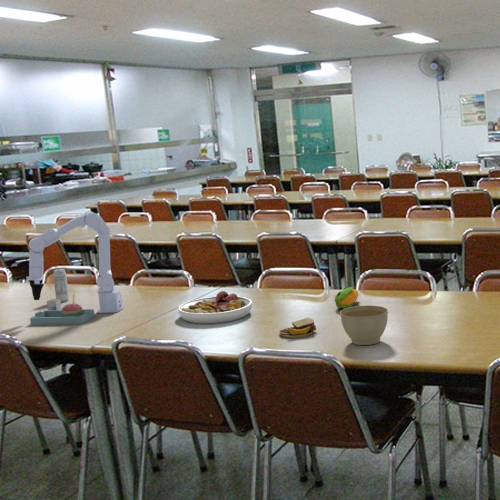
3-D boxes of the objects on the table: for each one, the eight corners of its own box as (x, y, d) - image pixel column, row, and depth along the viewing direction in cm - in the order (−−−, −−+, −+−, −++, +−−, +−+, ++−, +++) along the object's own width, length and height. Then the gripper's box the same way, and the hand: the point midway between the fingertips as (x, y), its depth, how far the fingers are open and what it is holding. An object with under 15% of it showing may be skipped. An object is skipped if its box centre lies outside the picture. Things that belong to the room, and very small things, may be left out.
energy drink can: (70, 299, 373) (67, 268, 370) (66, 302, 367) (63, 271, 364) (58, 300, 373) (55, 269, 371) (54, 302, 367) (50, 271, 365)
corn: (330, 292, 309) (346, 281, 327) (330, 311, 311) (346, 299, 328) (348, 294, 306) (363, 283, 324) (348, 313, 308) (363, 301, 325)
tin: (61, 312, 346) (60, 298, 345) (57, 315, 342) (55, 301, 341) (52, 312, 347) (50, 298, 346) (48, 315, 343) (46, 301, 342)
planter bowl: (384, 333, 274) (382, 303, 272) (394, 346, 258) (392, 314, 256) (338, 337, 273) (336, 307, 272) (345, 350, 257) (343, 318, 256)
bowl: (244, 325, 301) (242, 305, 300) (169, 326, 307) (168, 307, 306) (258, 306, 330) (257, 288, 329) (190, 308, 336) (189, 290, 335)
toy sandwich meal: (277, 331, 288) (276, 319, 287) (313, 328, 289) (312, 315, 288) (282, 340, 275) (281, 327, 275) (319, 337, 277) (318, 324, 276)
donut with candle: (86, 317, 333) (83, 290, 331) (77, 322, 324) (74, 294, 323) (68, 317, 335) (65, 290, 333) (58, 323, 327) (55, 295, 325)
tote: (94, 315, 334) (93, 307, 334) (82, 323, 322) (81, 315, 321) (45, 317, 339) (44, 308, 339) (30, 325, 327) (29, 316, 326)
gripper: (25, 264, 335) (25, 295, 336) (27, 269, 321) (27, 301, 323) (42, 264, 337) (42, 295, 338) (44, 268, 323) (44, 301, 325)
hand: (36, 298), depth 331 cm, fingers open, 7 cm apart
